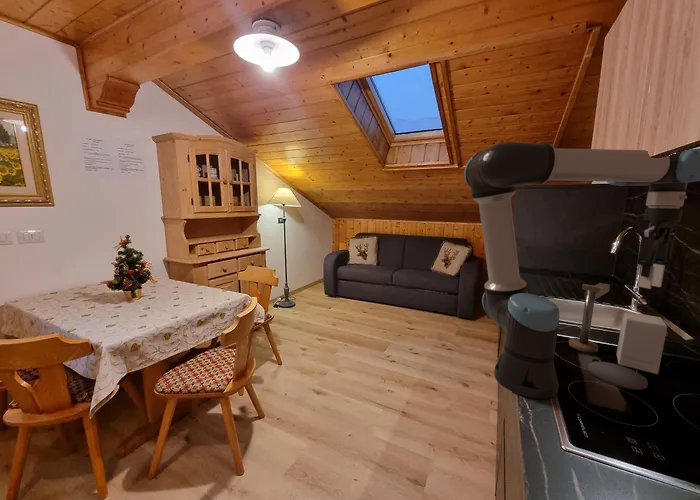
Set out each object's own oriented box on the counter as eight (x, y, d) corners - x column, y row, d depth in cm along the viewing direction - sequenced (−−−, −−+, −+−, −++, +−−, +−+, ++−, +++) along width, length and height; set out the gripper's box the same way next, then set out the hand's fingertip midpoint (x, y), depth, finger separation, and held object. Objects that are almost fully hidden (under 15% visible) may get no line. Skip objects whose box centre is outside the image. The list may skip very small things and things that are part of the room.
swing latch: (591, 346, 102) (600, 288, 99) (573, 340, 106) (581, 284, 103) (606, 333, 113) (614, 280, 110) (589, 328, 117) (597, 277, 114)
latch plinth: (588, 354, 100) (588, 350, 100) (563, 343, 107) (563, 339, 107) (603, 350, 103) (604, 346, 103) (578, 340, 110) (578, 336, 110)
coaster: (630, 393, 80) (630, 391, 79) (577, 368, 91) (578, 366, 91) (658, 383, 84) (658, 381, 84) (604, 360, 96) (605, 358, 96)
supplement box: (659, 375, 89) (668, 326, 86) (618, 365, 94) (626, 318, 92) (653, 362, 96) (662, 317, 93) (615, 353, 101) (623, 310, 99)
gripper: (664, 207, 81) (648, 292, 84) (698, 208, 87) (682, 287, 91) (629, 206, 88) (616, 285, 91) (663, 207, 94) (650, 281, 98)
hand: (649, 286), depth 91 cm, fingers open, 5 cm apart
